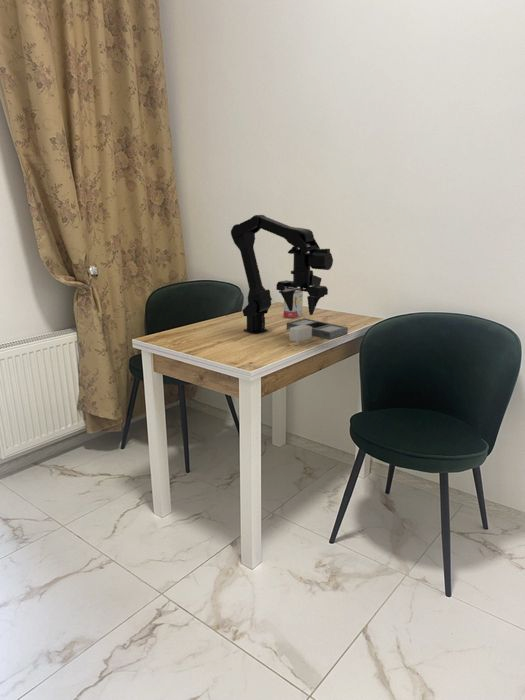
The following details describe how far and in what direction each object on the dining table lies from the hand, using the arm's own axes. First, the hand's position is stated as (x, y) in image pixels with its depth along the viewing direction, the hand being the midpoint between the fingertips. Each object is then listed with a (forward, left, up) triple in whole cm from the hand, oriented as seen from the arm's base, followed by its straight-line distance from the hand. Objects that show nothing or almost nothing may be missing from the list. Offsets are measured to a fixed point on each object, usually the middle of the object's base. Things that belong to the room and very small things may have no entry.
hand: (300, 312), depth 171 cm
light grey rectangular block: (0, 0, -10) cm, 10 cm away
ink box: (+25, +25, -10) cm, 37 cm away
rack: (+12, +2, -9) cm, 15 cm away
